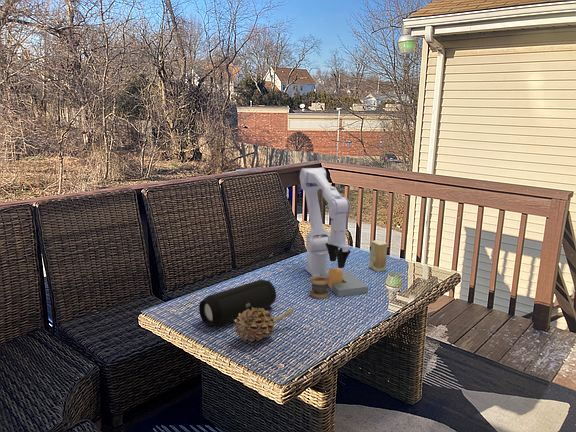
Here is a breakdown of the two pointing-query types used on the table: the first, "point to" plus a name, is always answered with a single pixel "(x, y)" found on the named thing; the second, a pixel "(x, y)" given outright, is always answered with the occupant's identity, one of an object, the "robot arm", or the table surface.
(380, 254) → the skincare box
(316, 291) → the bobbin post
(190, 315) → the table surface
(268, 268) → the table surface
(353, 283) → the notched board
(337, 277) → the orange rectangular block
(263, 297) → the portable speaker
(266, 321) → the brown knobbly handled piece
